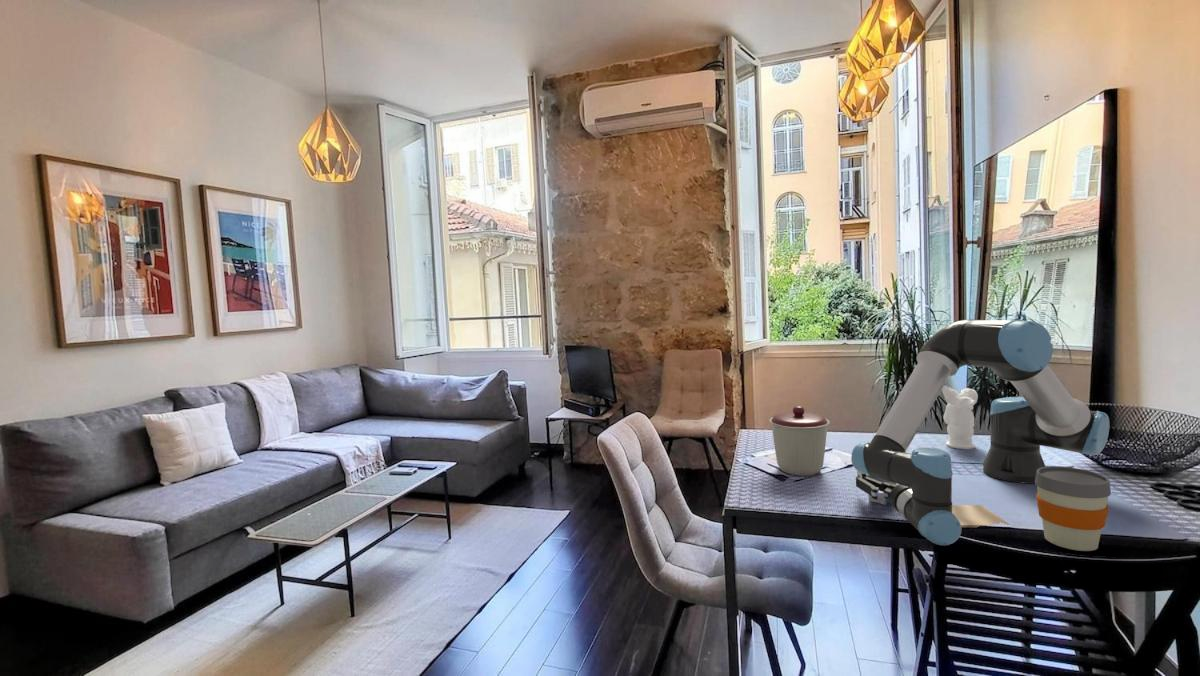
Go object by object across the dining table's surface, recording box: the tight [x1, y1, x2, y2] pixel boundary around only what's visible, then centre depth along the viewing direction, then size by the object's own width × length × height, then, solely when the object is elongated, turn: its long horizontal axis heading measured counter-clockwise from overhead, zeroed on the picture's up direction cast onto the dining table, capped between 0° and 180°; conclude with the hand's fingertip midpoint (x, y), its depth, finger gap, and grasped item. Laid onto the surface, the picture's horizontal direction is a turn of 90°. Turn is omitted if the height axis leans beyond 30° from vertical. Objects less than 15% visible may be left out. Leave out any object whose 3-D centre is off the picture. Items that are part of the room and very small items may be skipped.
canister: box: [768, 405, 830, 477], centre depth 173 cm, size 18×18×21 cm
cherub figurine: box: [941, 384, 979, 450], centre depth 187 cm, size 12×12×22 cm
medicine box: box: [868, 475, 897, 505], centre depth 147 cm, size 8×4×9 cm, turn 131°
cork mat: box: [952, 504, 1010, 529], centre depth 134 cm, size 16×12×1 cm
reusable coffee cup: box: [1034, 466, 1112, 552], centre depth 119 cm, size 13×13×15 cm
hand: (875, 471), depth 152 cm, fingers closed on medicine box, 8 cm apart
